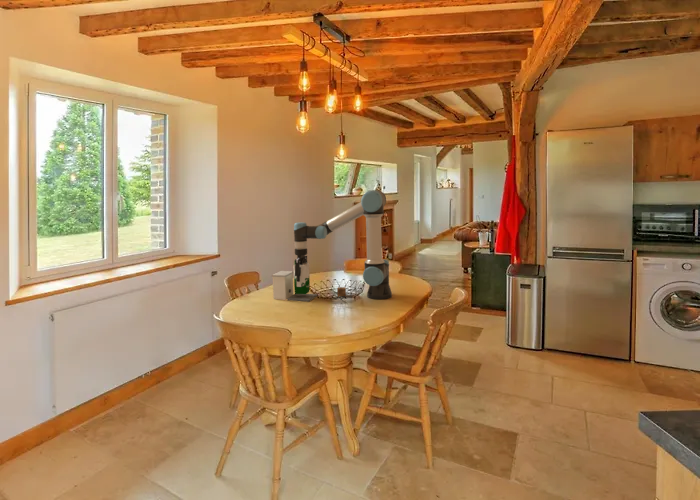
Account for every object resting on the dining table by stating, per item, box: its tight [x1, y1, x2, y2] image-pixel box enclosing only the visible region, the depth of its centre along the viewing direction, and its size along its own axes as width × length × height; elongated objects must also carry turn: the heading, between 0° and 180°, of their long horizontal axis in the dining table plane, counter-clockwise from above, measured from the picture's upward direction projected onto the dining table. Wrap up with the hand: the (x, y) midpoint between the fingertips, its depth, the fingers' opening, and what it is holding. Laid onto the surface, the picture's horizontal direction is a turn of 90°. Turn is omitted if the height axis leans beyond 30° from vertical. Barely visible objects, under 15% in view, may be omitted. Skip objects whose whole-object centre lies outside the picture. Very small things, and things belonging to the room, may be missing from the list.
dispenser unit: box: [271, 270, 295, 301], centre depth 270 cm, size 9×13×15 cm
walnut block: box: [336, 286, 347, 298], centre depth 271 cm, size 5×5×5 cm
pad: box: [286, 293, 318, 303], centre depth 268 cm, size 14×14×1 cm
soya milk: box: [292, 260, 311, 294], centre depth 266 cm, size 9×9×20 cm
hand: (302, 284), depth 267 cm, fingers closed on soya milk, 9 cm apart
